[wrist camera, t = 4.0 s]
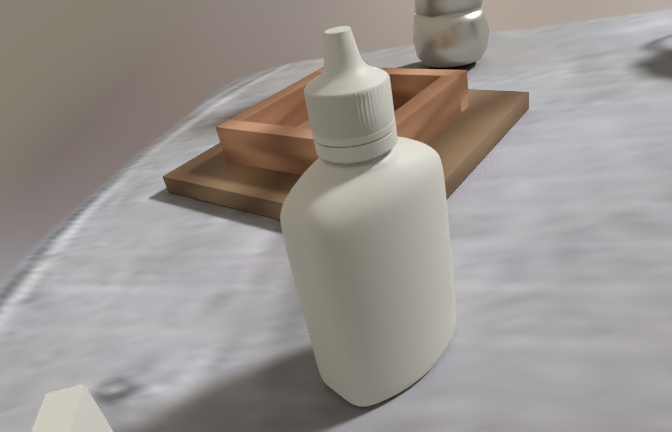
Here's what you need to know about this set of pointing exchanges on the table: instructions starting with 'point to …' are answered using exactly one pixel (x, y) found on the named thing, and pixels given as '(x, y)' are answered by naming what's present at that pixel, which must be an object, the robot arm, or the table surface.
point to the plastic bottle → (450, 32)
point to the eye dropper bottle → (368, 235)
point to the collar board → (299, 149)
